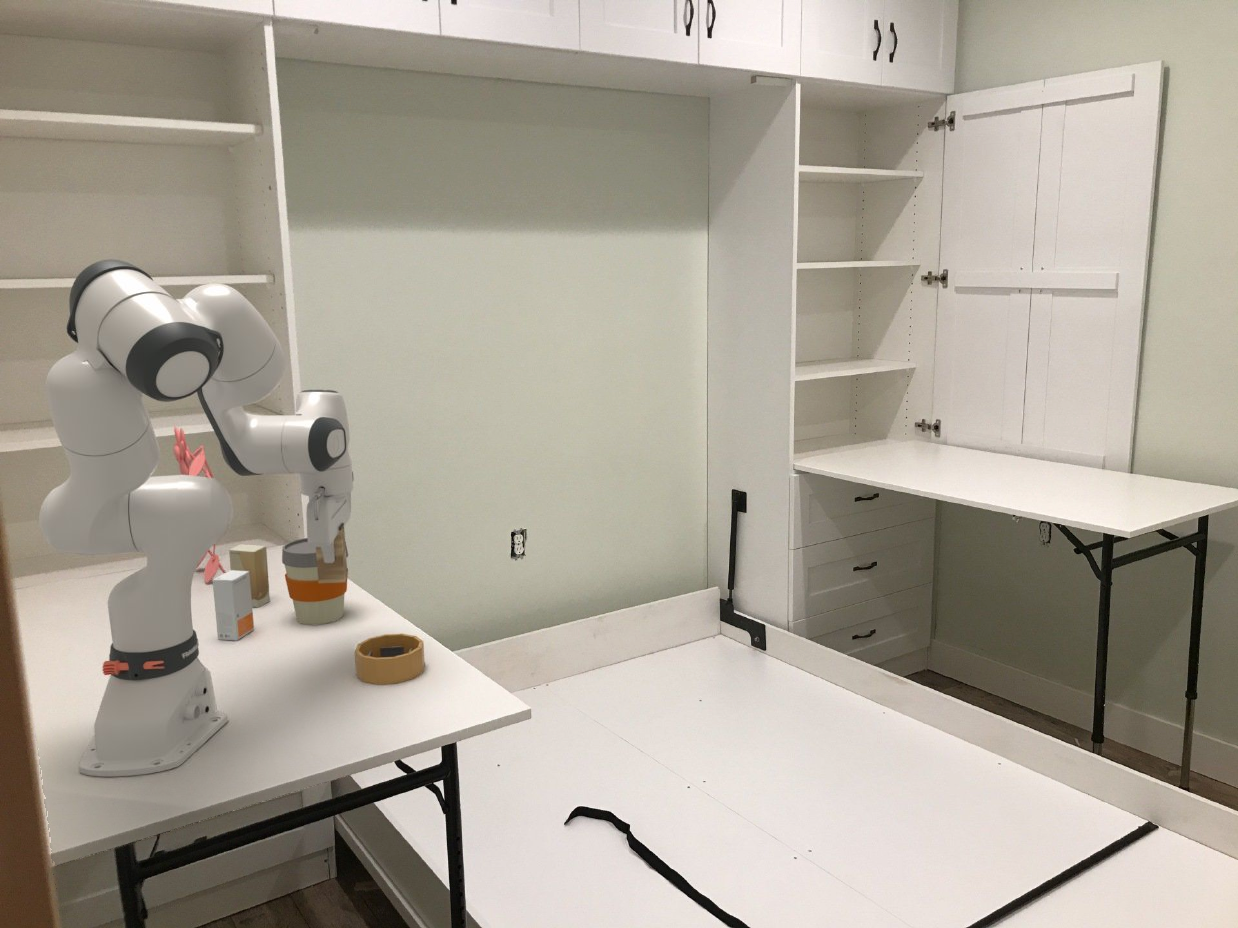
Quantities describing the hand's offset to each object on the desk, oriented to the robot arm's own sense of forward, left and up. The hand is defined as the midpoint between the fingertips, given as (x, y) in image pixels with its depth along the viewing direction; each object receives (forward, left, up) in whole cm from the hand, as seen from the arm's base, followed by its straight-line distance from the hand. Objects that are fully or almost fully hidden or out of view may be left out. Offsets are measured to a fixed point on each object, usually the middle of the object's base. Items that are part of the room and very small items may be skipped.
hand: (332, 558), depth 173 cm
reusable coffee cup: (+21, +8, -19) cm, 29 cm away
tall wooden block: (0, 0, -4) cm, 4 cm away
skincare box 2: (+13, +22, -19) cm, 31 cm away
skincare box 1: (+31, +24, -19) cm, 43 cm away
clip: (-8, -10, -18) cm, 22 cm away
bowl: (-8, -10, -18) cm, 22 cm away
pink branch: (+50, +42, -19) cm, 68 cm away
